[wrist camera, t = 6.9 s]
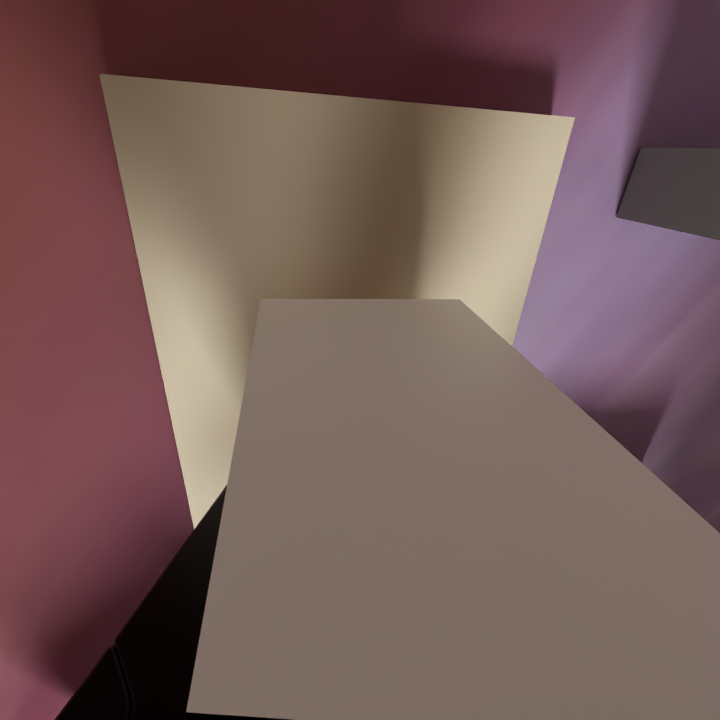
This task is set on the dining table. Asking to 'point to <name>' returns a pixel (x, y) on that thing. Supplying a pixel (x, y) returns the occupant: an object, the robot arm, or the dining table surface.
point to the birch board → (313, 223)
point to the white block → (443, 538)
